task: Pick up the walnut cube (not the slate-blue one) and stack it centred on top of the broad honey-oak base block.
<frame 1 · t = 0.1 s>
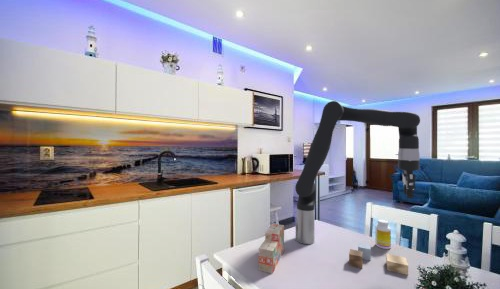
hand: (408, 196, 94), 29 cm above the table, fingers open, 8 cm apart
oak base: (396, 268, 90), on the table
walnut cube: (355, 264, 93), on the table
slate cube: (364, 256, 99), on the table
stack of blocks: (272, 259, 97), on the table
supplement bottle: (382, 246, 109), on the table
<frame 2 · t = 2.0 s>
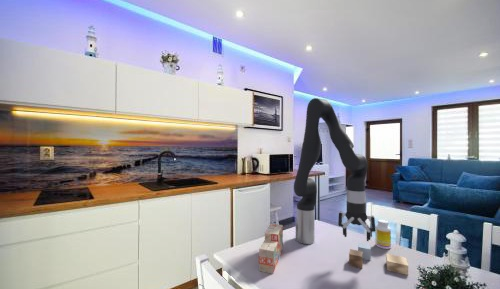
hand: (356, 238, 93), 11 cm above the table, fingers open, 8 cm apart
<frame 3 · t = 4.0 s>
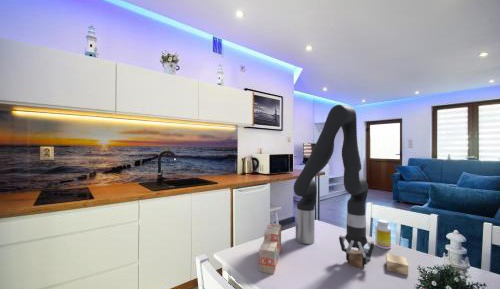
hand: (356, 263, 93), 0 cm above the table, fingers closed on walnut cube, 5 cm apart
walnut cube: (355, 264, 93), on the table, touching gripper
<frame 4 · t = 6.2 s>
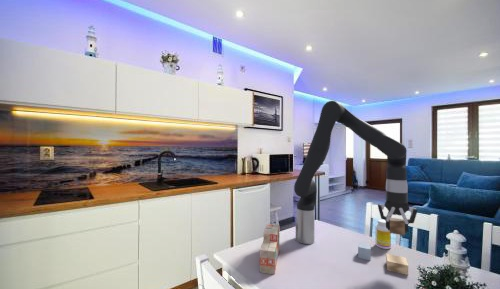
hand: (396, 230, 90), 16 cm above the table, fingers closed on walnut cube, 5 cm apart
walnut cube: (396, 232, 90), point 15 cm above the table, touching gripper
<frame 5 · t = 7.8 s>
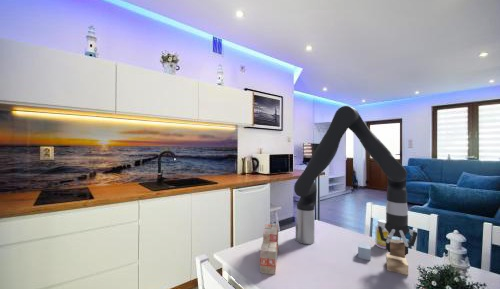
hand: (396, 252, 90), 6 cm above the table, fingers closed on walnut cube, 5 cm apart
walnut cube: (396, 253, 90), point 6 cm above the table, touching gripper
when the fingers open (5 cm above the table, at t = 8.9 s): walnut cube drops 1 cm, resting on oak base.
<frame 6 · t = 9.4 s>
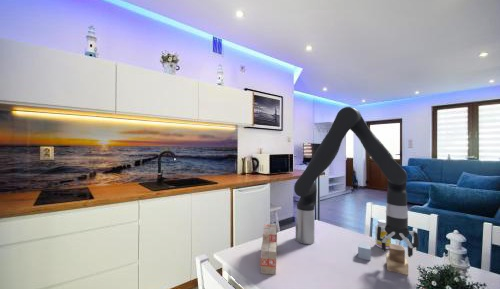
hand: (396, 253, 90), 6 cm above the table, fingers open, 8 cm apart
oak base: (396, 268, 90), on the table, touching walnut cube
walnut cube: (396, 259, 90), point 4 cm above the table, touching oak base
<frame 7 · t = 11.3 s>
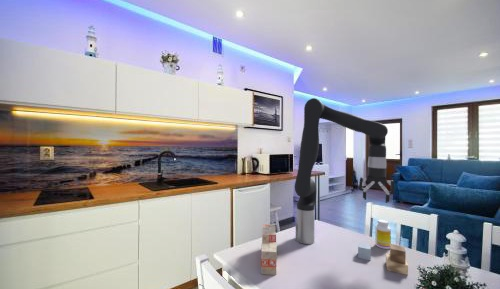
hand: (375, 201, 101), 25 cm above the table, fingers open, 8 cm apart
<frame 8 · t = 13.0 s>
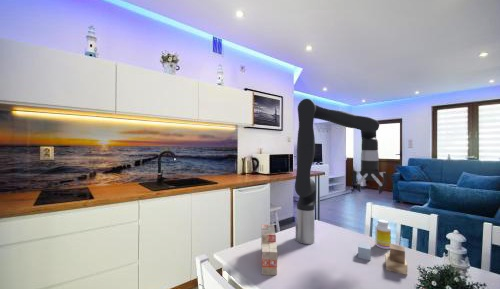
hand: (369, 192, 105), 28 cm above the table, fingers open, 8 cm apart
at the end: walnut cube 0.4 cm off-centre on the oak base, point 4.0 cm above the oak base's base; walnut cube tilted 1°; the gripper is holding nothing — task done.
